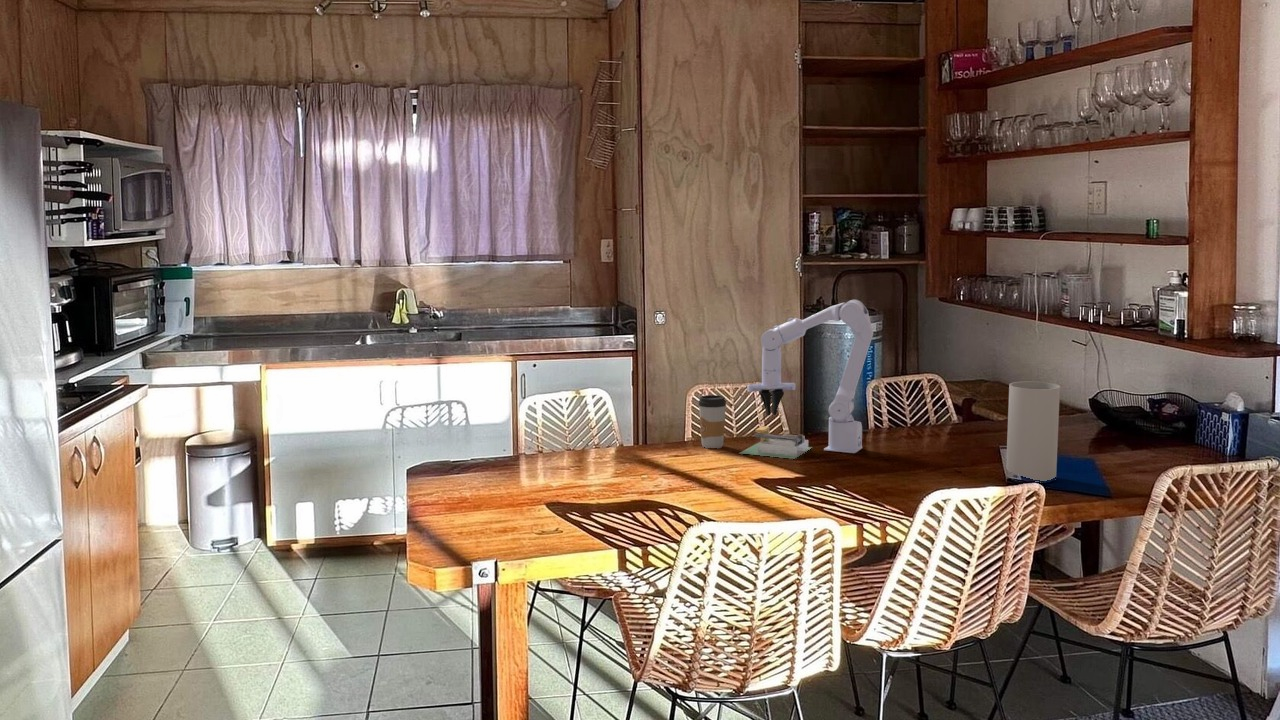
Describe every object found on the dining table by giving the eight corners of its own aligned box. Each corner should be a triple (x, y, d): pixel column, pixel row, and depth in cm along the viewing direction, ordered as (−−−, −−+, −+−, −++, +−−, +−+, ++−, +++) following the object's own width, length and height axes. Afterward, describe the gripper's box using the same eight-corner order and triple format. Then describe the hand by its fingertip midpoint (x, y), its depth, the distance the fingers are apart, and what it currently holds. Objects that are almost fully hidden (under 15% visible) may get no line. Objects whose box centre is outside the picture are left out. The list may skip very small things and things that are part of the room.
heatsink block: (808, 450, 341) (808, 433, 340) (796, 457, 332) (797, 440, 331) (769, 446, 346) (769, 429, 345) (757, 453, 337) (757, 436, 337)
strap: (801, 441, 338) (801, 437, 337) (798, 443, 335) (798, 439, 335) (757, 435, 344) (757, 431, 343) (753, 437, 341) (754, 433, 341)
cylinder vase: (1023, 486, 298) (1027, 390, 295) (996, 475, 310) (999, 382, 306) (1065, 482, 301) (1070, 387, 298) (1037, 471, 313) (1041, 380, 310)
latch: (769, 444, 348) (769, 426, 347) (762, 448, 343) (762, 430, 343) (761, 444, 349) (761, 426, 348) (755, 447, 344) (755, 429, 344)
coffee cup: (693, 445, 350) (693, 396, 348) (717, 442, 354) (717, 394, 351) (706, 450, 343) (706, 400, 340) (731, 447, 346) (731, 398, 344)
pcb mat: (812, 448, 344) (812, 447, 344) (794, 459, 330) (794, 458, 330) (758, 443, 352) (758, 442, 352) (738, 454, 338) (739, 453, 338)
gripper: (752, 372, 340) (752, 418, 342) (799, 370, 343) (798, 415, 345) (745, 369, 347) (744, 413, 349) (791, 367, 350) (790, 411, 352)
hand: (771, 414), depth 348 cm, fingers closed
